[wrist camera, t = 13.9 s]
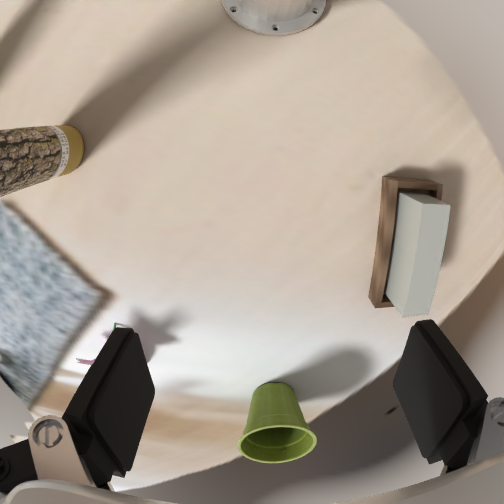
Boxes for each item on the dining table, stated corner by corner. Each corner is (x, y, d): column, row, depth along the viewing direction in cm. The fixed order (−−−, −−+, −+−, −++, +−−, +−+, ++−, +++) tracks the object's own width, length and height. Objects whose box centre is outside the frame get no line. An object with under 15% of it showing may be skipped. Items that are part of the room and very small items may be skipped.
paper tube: (64, 115, 31) (-90, 130, 8) (94, 143, 33) (-67, 179, 10) (42, 155, 33) (-101, 200, 10) (70, 183, 35) (-75, 250, 12)
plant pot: (290, 418, 51) (294, 466, 41) (231, 405, 50) (227, 456, 39) (320, 379, 47) (331, 431, 37) (255, 363, 46) (254, 419, 35)
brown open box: (382, 176, 34) (392, 180, 32) (430, 180, 34) (442, 184, 32) (368, 297, 41) (375, 308, 38) (412, 294, 41) (421, 304, 38)
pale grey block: (395, 190, 34) (422, 203, 28) (421, 192, 34) (450, 205, 28) (382, 290, 39) (402, 317, 33) (406, 288, 39) (428, 314, 33)
